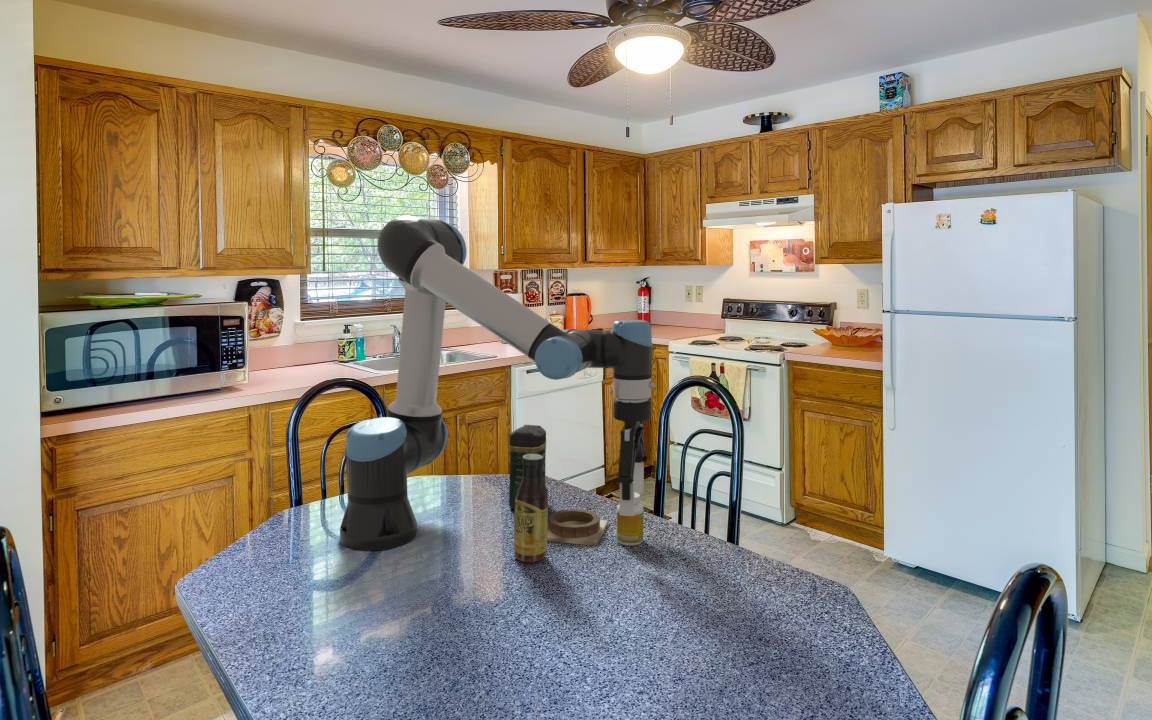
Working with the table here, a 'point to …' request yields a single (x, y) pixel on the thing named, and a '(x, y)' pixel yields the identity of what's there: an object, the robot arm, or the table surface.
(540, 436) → the coffee jar
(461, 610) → the table surface
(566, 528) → the collar
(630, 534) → the supplement bottle
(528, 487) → the sauce bottle
